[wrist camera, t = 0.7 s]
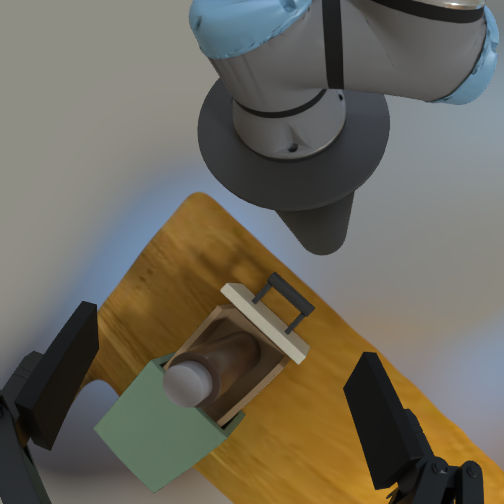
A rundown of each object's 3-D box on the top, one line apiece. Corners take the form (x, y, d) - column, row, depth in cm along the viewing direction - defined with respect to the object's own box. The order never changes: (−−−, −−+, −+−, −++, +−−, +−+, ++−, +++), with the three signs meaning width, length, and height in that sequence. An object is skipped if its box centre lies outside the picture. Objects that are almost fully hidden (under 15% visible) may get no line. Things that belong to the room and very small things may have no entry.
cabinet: (180, 349, 42) (150, 360, 35) (245, 414, 39) (227, 438, 31) (123, 413, 44) (93, 428, 36) (177, 470, 40) (153, 493, 33)
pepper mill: (239, 323, 38) (178, 343, 23) (269, 351, 37) (224, 390, 22) (214, 350, 39) (144, 382, 23) (242, 378, 37) (186, 427, 22)
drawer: (264, 258, 40) (252, 253, 34) (334, 321, 37) (334, 327, 31) (170, 365, 41) (147, 374, 36) (229, 424, 38) (213, 442, 33)
